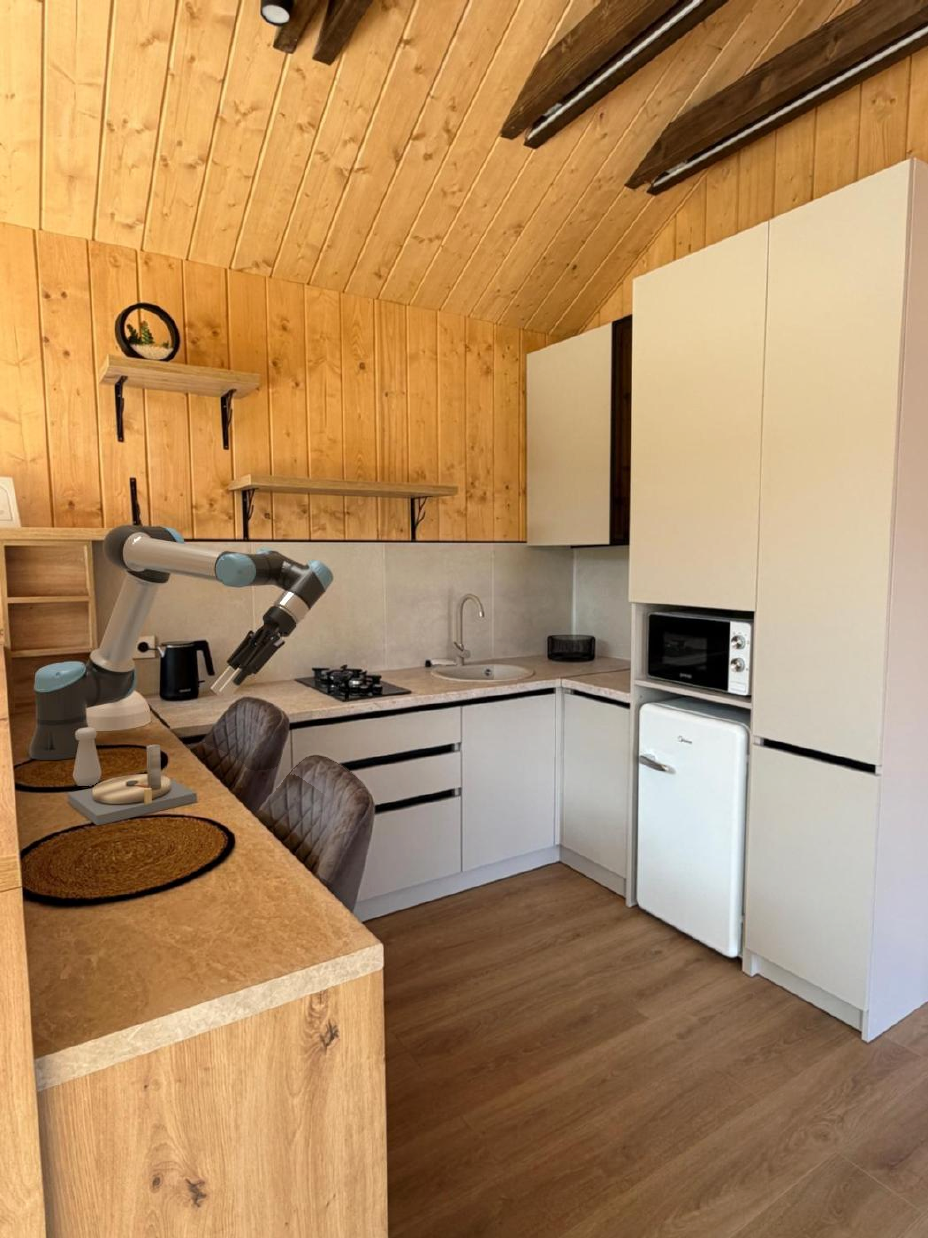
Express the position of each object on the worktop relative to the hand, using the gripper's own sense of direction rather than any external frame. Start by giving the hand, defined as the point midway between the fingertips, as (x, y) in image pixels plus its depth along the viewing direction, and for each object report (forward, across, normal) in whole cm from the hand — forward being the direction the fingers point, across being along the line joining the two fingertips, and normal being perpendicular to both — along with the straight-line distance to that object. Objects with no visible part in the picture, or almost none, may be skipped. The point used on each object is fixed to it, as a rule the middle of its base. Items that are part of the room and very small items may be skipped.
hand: (219, 693), depth 160 cm
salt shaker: (+30, +25, -2) cm, 39 cm away
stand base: (+28, +6, -4) cm, 29 cm away
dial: (+26, +6, -2) cm, 27 cm away
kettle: (+12, +82, -20) cm, 85 cm away
